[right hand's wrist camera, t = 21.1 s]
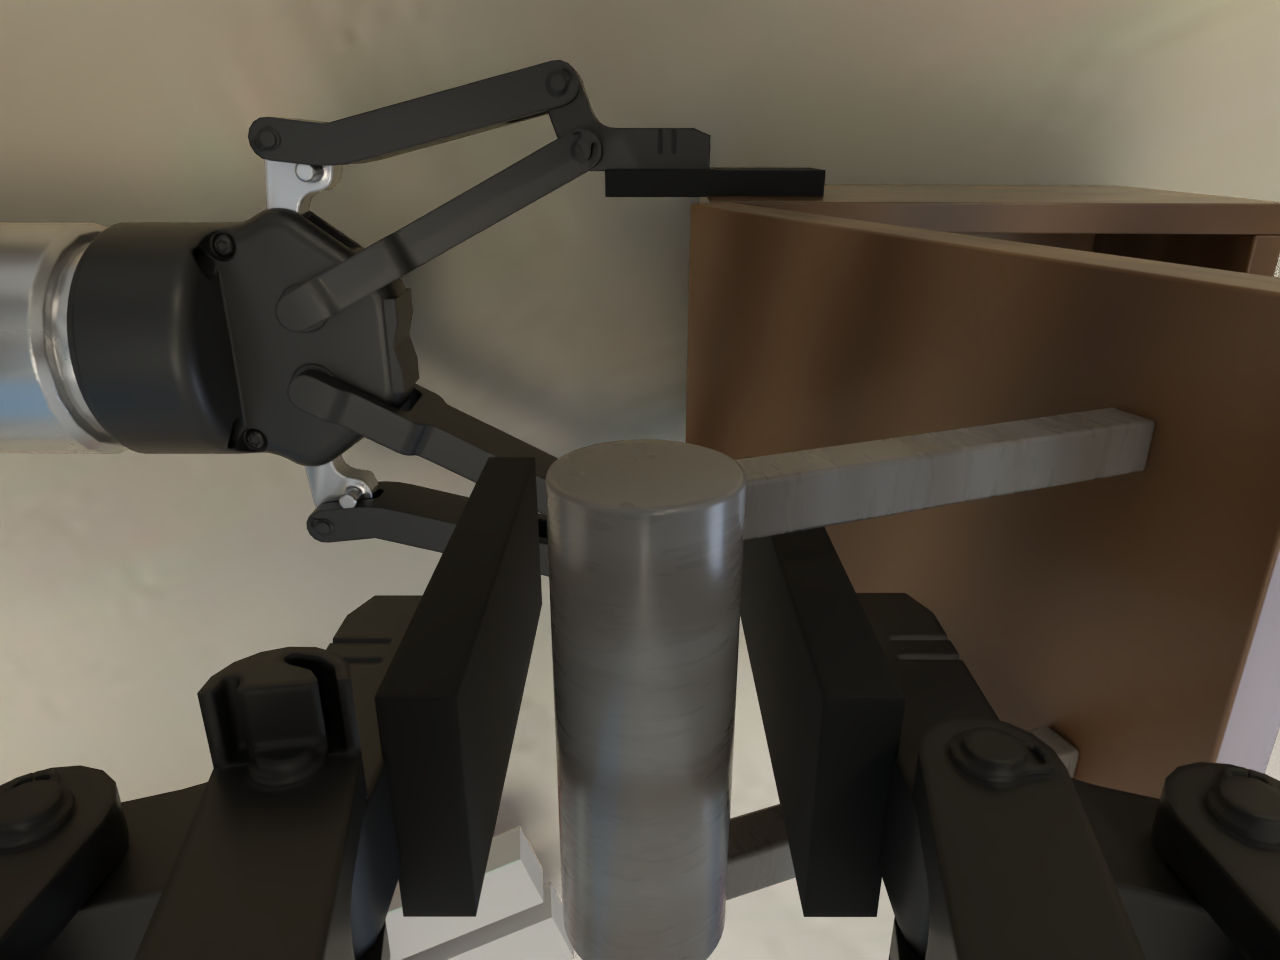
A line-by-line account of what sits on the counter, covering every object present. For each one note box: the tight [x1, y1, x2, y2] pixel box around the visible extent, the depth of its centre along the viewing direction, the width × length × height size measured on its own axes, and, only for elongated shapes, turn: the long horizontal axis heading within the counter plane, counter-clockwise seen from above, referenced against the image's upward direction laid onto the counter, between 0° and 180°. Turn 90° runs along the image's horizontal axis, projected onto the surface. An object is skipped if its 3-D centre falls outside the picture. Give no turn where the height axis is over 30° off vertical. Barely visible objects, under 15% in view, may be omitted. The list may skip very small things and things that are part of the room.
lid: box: [545, 203, 1280, 960], centre depth 16 cm, size 16×9×9 cm
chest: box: [699, 185, 1280, 277], centre depth 30 cm, size 16×9×10 cm, turn 90°
